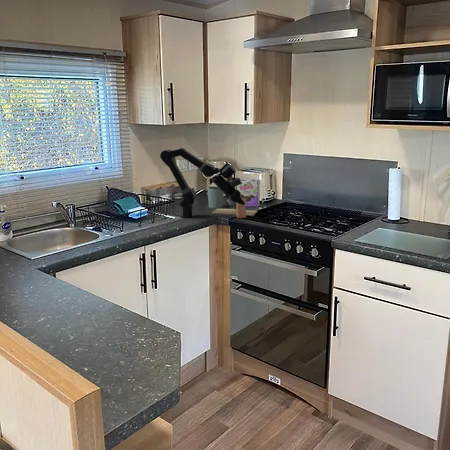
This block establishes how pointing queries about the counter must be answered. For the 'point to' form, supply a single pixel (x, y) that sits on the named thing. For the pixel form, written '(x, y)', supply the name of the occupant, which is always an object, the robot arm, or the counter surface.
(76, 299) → the counter surface
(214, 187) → the teal cup
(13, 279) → the counter surface
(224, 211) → the board
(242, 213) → the painted block
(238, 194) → the robot arm
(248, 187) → the candy box
